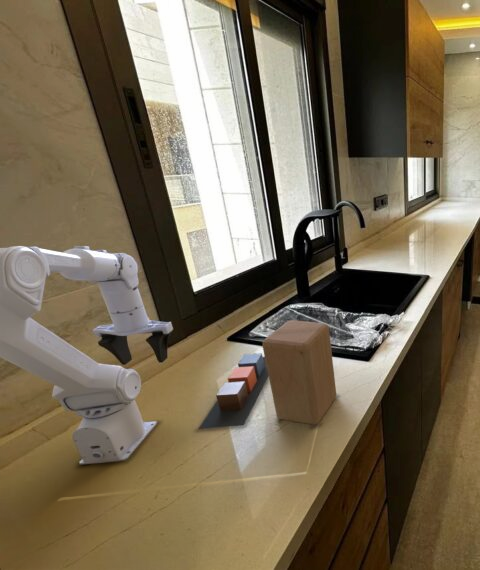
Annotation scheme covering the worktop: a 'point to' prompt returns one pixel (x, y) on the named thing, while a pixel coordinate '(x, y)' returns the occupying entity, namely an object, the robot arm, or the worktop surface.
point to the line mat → (236, 416)
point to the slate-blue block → (253, 362)
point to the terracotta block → (244, 376)
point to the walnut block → (232, 396)
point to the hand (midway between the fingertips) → (145, 361)
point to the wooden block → (300, 370)
